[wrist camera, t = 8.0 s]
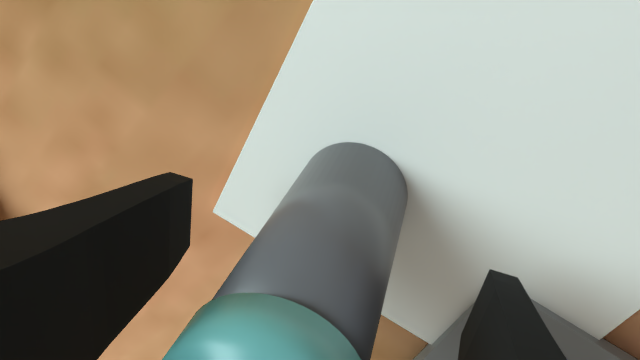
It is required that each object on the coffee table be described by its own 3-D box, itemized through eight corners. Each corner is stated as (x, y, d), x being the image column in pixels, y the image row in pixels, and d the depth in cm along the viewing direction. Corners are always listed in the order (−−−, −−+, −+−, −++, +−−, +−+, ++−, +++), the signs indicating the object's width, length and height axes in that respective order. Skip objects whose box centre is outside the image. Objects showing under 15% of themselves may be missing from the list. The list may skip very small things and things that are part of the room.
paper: (1006, 17, 9) (1017, 19, 9) (520, 395, 16) (521, 399, 16) (464, -313, 9) (464, -317, 9) (215, 208, 16) (212, 211, 16)
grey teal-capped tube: (432, 171, 14) (391, 420, 7) (381, 258, 15) (308, 527, 8) (321, 118, 14) (170, 309, 7) (284, 210, 15) (133, 435, 9)
